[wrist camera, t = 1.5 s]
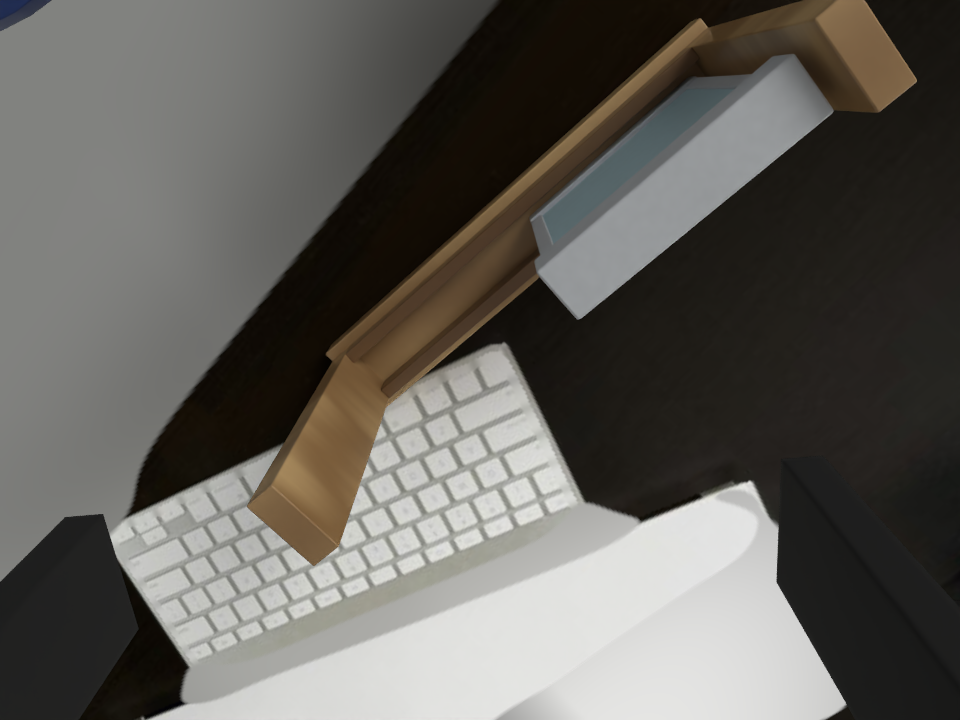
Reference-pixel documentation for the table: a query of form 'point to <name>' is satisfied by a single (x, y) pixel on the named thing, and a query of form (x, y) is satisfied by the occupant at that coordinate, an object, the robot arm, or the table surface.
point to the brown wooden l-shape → (532, 250)
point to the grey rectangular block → (669, 176)
